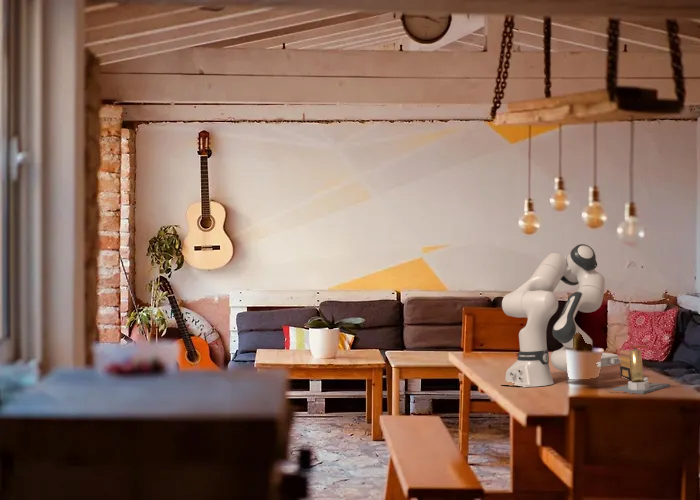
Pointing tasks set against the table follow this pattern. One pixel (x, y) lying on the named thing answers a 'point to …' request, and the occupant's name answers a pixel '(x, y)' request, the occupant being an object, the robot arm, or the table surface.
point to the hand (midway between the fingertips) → (610, 362)
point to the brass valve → (636, 363)
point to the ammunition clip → (625, 364)
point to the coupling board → (651, 388)
